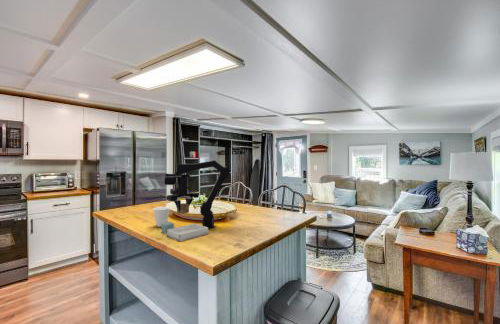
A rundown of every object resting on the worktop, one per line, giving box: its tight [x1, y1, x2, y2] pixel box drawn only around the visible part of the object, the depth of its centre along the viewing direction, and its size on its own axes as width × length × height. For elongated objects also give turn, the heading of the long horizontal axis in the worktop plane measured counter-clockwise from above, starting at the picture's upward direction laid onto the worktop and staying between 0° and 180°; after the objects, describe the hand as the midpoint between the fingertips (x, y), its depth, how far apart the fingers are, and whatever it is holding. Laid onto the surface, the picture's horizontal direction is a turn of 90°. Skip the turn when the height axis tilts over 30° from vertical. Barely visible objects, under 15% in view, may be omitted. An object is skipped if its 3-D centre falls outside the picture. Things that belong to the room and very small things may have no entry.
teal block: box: [161, 221, 175, 235], centre depth 144 cm, size 5×5×5 cm
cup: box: [152, 206, 171, 228], centre depth 157 cm, size 10×10×11 cm
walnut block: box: [176, 202, 190, 215], centre depth 151 cm, size 5×5×5 cm
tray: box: [166, 223, 209, 242], centre depth 139 cm, size 18×13×4 cm
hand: (182, 210), depth 151 cm, fingers closed on walnut block, 5 cm apart
